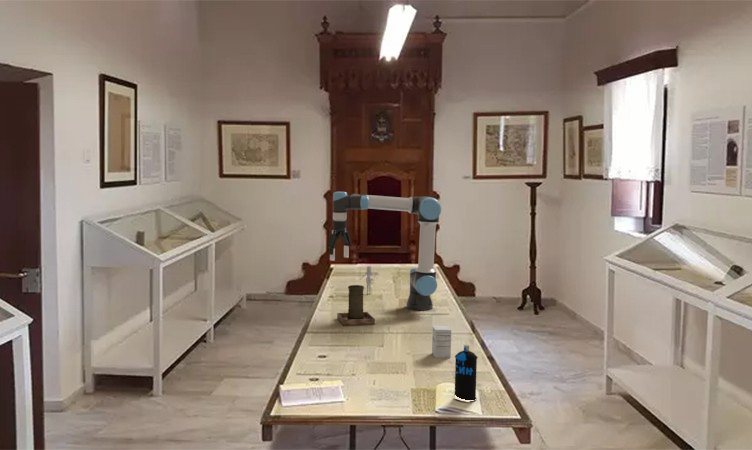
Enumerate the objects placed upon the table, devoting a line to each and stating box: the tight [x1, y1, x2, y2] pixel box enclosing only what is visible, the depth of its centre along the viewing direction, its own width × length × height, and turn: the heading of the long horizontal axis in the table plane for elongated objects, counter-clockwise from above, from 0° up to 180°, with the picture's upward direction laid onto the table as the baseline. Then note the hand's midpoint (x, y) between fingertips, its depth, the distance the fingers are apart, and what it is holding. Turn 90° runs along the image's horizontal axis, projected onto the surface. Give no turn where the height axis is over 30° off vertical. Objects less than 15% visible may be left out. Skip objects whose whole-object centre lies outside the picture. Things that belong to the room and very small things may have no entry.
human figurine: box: [359, 265, 379, 295], centre depth 452 cm, size 12×4×18 cm, turn 97°
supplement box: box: [431, 325, 452, 359], centre depth 320 cm, size 7×7×13 cm
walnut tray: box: [336, 311, 376, 327], centre depth 382 cm, size 17×17×3 cm
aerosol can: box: [454, 344, 479, 401], centre depth 265 cm, size 8×8×20 cm
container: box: [347, 284, 365, 320], centre depth 381 cm, size 9×9×18 cm
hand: (339, 259), depth 395 cm, fingers open, 13 cm apart
